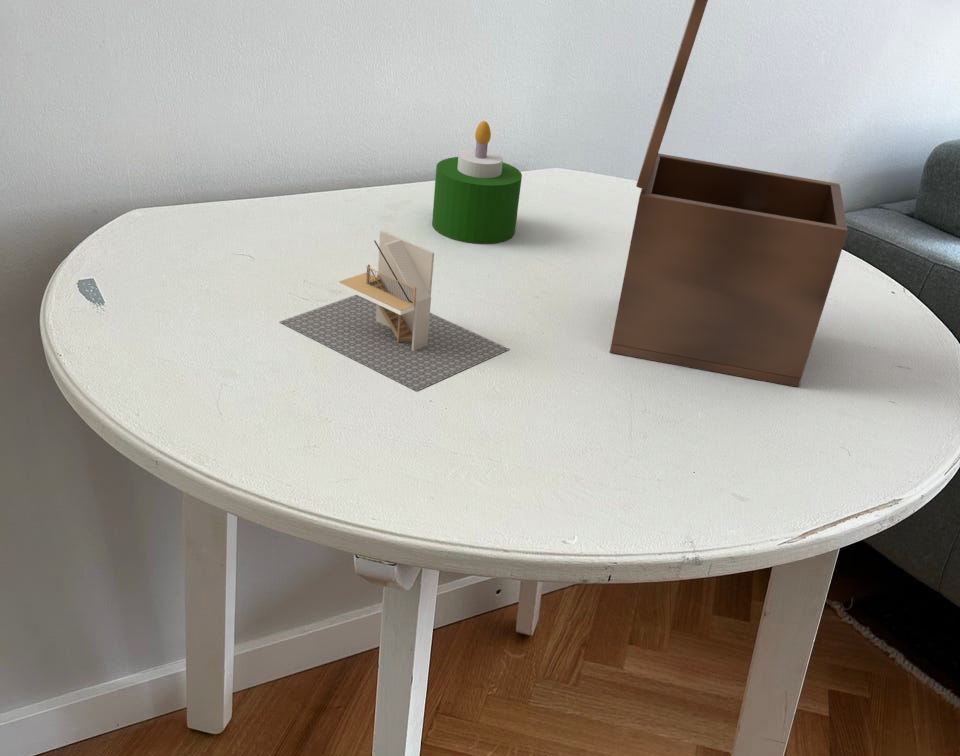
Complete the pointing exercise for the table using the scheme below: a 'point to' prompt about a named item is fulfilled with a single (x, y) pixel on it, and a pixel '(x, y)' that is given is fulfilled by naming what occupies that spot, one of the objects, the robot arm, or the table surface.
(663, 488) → the table surface
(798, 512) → the table surface
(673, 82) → the lid
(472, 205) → the candle
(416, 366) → the architectural model
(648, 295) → the toy box
